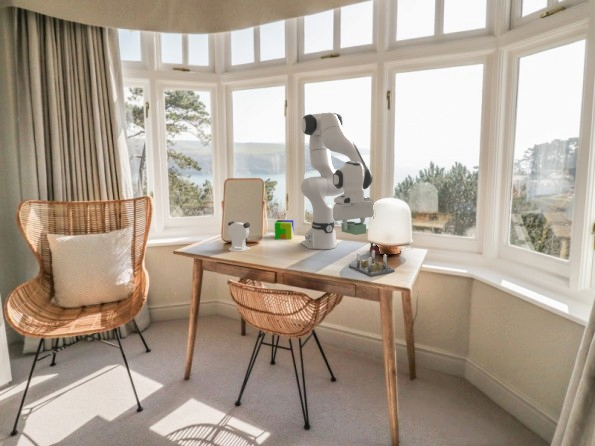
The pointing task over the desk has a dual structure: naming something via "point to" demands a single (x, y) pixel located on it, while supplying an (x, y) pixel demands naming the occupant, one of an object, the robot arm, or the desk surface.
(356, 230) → the green rectangular block
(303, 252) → the desk surface
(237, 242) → the panda figurine
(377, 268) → the chassis
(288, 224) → the puzzle toy
